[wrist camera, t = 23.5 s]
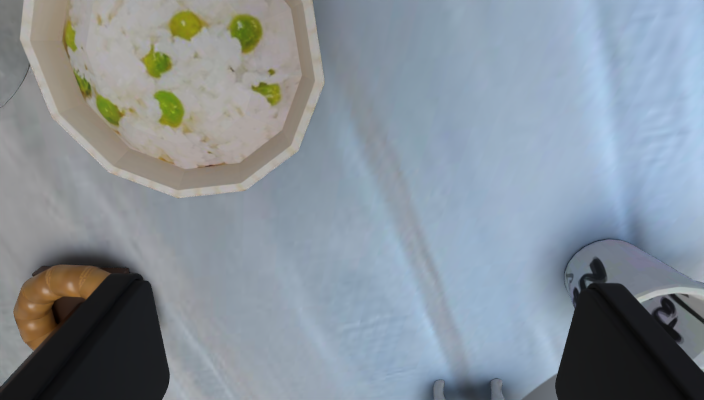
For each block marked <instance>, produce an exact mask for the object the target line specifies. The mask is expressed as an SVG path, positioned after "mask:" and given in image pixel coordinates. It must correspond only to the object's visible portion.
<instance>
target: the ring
mask: <svg viewBox="0 0 704 400" xmlns="http://www.w3.org/2000/svg"><path fill="white" fill-rule="evenodd" d="M110 274H111V273H109V272H107V271H104V270H102V269H100V268H98V267H96V266H89V265H63V264H61V265H55V266H53V267H51V268H49V269H47V270H45V271H43V272H41V273H39V274H37V275H35V276H33V277H32V278H30V279H28V280H27V281H26V282H25V283H24V284H23V286H22V288H21V291H20V293H19V296H18V299H17V301H16V304H15V307H14V311H13V313H14V317H15V320H16V323H17V326H18V329H19V331H20V334H21V337H22V339H23V341H24V342H25V343H26V344H27V345H28V346H29V347H30V348H31V349H32V350H33V351H34V350H35V349H36V348H37V347H38V346H39V345H40V344H41V343H42V342H43V341H44V340H45V338H46V337H47V336H48V335H49V334H50V333H51V332H52V331H53V330H54V329H55V328H56V327H57V326H58V324H57V323H56V322H55V318H54V315H53V312H52V309H51V308H52V306H53V304H54V301H55V300H57V299H59V298H61V297H82V298H84V299H87V298H88V297H89V296H90V295H91V294H92V292H93V291H94V290H95V289H96V288H97V287H98V286H99V285H100V284H101V283H102V282H103V280H104V279H105V278H106V277H107V276H108V275H110Z"/></svg>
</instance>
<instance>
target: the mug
mask: <svg viewBox="0 0 704 400" xmlns="http://www.w3.org/2000/svg"><path fill="white" fill-rule="evenodd" d="M590 283H620V284H622V285H624V286H625V287H626V288H627V289H628V290H629V291H630V292H631V294H632V295H633V296H634V297H635V298H636V299H637V300H638V301H639V302H640V303H641V304H642V306H643V307H644V308H645V309H646V310H647V311H648V312H649V313H650V314H651V315H652V316H653V317H654V319H655V320H656V321H657V322H658V323H659V324H660V325H661V326H662V327H663V328H664V329H665V331H666V332H667V333H668V334H669V335H670V336H671V337H672V338H673V339H674V340H675V341H676V343H677V344H678V345H679V346H680V347H681V348H682V349H683V350H684V351H685V352H686V353H687V355H688V356H689V357H690V358H691V359H692V360H693V361H694V362H695V363H696V364H697V365H698V367H699V368H700V369H701V370H704V283H702V282H698V281H694V280H692V279H690V278H689V277H687V276H685V275H684V274H682V273H680V272H678V271H677V270H675V269H673V268H672V267H670V266H668V265H666V264H665V263H663V262H661V261H660V260H658V259H656V258H655V257H653V256H651V255H649V254H648V253H646V252H644V251H643V250H641V249H639V248H637V247H636V246H634V245H632V244H630V243H627V242H625V241H621V240H611V239H608V240H603V241H597V242H595V243H592V244H590V245H588V246H585V247H584V248H583V249H581V250H580V251H579V252H578V253H576V254H575V255H574V257H573V258H572V259H571V261H570V262H569V263H568V266H567V269H566V271H565V286H566V288H567V291H568V293H569V295H570V298H571V300H572V303H573V305H574V307H576V303H577V299H578V295H579V293H580V291H581V290H583V289H587V287H588V285H589V284H590Z"/></svg>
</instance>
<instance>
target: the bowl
mask: <svg viewBox="0 0 704 400" xmlns="http://www.w3.org/2000/svg"><path fill="white" fill-rule="evenodd" d="M20 41H21V43H22V46H23V48H24V50H25V53H26V55H27V58H28V60H29V63H30V65H31V68H32V70H33V73H34V75H35V78H36V80H37V82H38V85H39V87H40V90H41V92H42V95H43V97H44V100H45V102H46V105H47V107H48V109H49V112H50V114H51V117H52V118H53V119H54V120H55V121H56V122H57V123H58V124H59V125H60V126H61V127H62V128H63V129H65V130H66V131H67V132H68V133H69V134H70V135H71V136H72V137H73V138H74V139H75V140H76V141H77V142H78V143H79V144H80V145H81V146H82V147H83V148H84V149H85V150H86V151H87V152H88V153H89V154H90V155H91V156H92V157H94V158H95V159H96V160H97V161H98V162H99V163H100V164H101V165H102V166H103V167H104V168H105V169H106V170H107V171H108V172H109V173H111V174H114V175H117V176H120V177H122V178H125V179H128V180H130V181H133V182H136V183H139V184H141V185H144V186H147V187H149V188H152V189H155V190H157V191H160V192H163V193H166V194H168V195H171V196H174V197H176V198H183V197H193V196H202V195H211V194H220V193H229V192H238V191H245V190H247V189H248V188H249V187H251V186H252V185H253V184H255V183H256V182H257V181H259V180H260V179H261V178H263V177H264V176H265V175H267V174H268V173H269V172H271V171H272V170H273V169H275V168H276V167H277V166H279V165H280V164H281V163H283V162H284V161H285V160H287V159H288V158H289V157H291V156H292V155H293V154H295V153H296V152H297V151H298V150H299V148H300V145H301V143H302V140H303V137H304V135H305V132H306V130H307V127H308V124H309V122H310V119H311V117H312V114H313V112H314V109H315V106H316V104H317V101H318V99H319V96H320V93H321V91H322V88H323V86H324V83H325V81H324V75H323V68H322V61H321V54H320V48H319V41H318V34H317V27H316V21H315V14H314V7H313V0H24V3H23V13H22V23H21V32H20Z"/></svg>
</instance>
